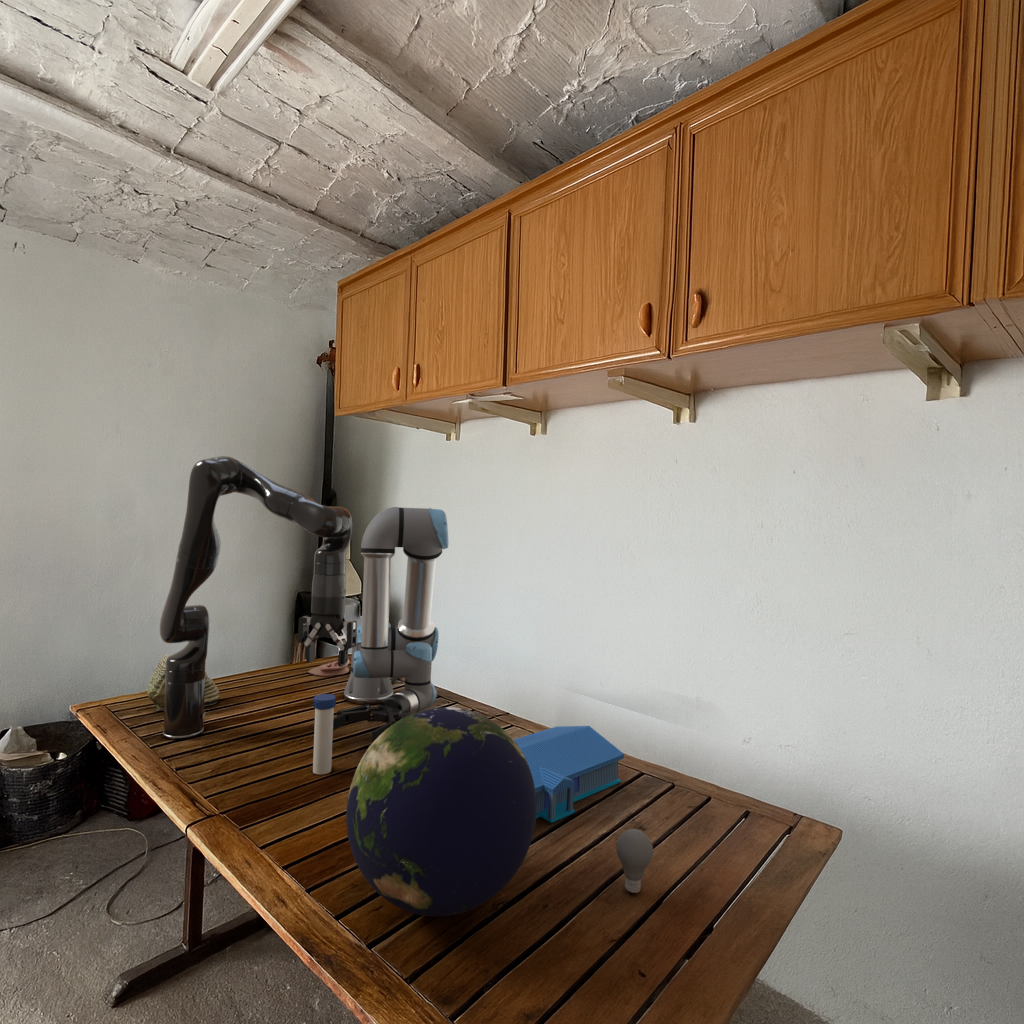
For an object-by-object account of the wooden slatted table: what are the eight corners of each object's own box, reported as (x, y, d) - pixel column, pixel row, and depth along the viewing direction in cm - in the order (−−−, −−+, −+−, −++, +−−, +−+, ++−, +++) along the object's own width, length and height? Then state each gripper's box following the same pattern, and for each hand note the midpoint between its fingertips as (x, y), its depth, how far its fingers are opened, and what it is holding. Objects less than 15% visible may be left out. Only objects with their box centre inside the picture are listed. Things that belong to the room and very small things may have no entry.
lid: (309, 708, 144) (309, 699, 144) (319, 701, 149) (319, 692, 149) (329, 710, 143) (330, 701, 143) (339, 703, 148) (339, 694, 148)
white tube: (309, 773, 145) (312, 700, 144) (317, 766, 149) (320, 695, 148) (326, 775, 144) (329, 702, 144) (334, 768, 148) (337, 697, 148)
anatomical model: (304, 662, 222) (320, 655, 233) (303, 674, 222) (320, 665, 234) (339, 666, 220) (353, 658, 231) (338, 677, 220) (353, 669, 231)
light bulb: (610, 879, 108) (613, 822, 108) (644, 879, 109) (647, 822, 109) (619, 902, 102) (622, 840, 102) (655, 901, 103) (658, 840, 103)
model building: (505, 843, 118) (507, 790, 118) (429, 794, 136) (431, 748, 136) (632, 786, 145) (634, 743, 144) (555, 752, 163) (557, 713, 163)
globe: (300, 927, 93) (307, 725, 93) (407, 832, 121) (414, 676, 120) (484, 995, 82) (495, 765, 81) (556, 873, 110) (564, 701, 109)
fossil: (144, 707, 182) (145, 655, 182) (212, 696, 194) (213, 647, 194) (151, 716, 175) (153, 662, 175) (221, 703, 188) (223, 653, 188)
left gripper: (292, 592, 144) (289, 664, 144) (348, 598, 140) (345, 671, 140) (311, 588, 151) (308, 656, 151) (364, 593, 147) (362, 663, 148)
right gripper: (437, 729, 169) (392, 757, 150) (360, 713, 179) (309, 737, 160) (438, 701, 169) (394, 726, 150) (361, 686, 179) (310, 708, 159)
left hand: (326, 663), depth 146 cm, fingers open, 7 cm apart
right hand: (350, 732), depth 155 cm, fingers open, 13 cm apart
